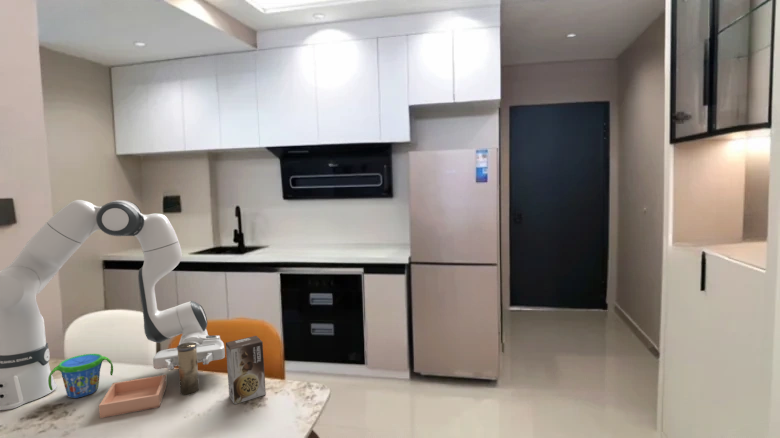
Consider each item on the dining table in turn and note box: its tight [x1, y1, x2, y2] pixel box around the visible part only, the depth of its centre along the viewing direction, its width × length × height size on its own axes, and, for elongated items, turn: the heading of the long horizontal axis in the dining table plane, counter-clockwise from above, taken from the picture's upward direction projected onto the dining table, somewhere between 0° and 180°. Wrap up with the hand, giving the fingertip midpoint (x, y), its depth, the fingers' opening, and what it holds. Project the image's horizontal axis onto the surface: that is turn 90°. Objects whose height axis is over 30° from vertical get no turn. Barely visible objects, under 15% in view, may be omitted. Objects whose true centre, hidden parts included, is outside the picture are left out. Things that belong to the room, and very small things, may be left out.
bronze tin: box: [176, 342, 200, 396], centre depth 124 cm, size 5×5×14 cm
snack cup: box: [48, 353, 114, 399], centre depth 124 cm, size 16×10×10 cm
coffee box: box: [225, 335, 267, 405], centre depth 120 cm, size 9×6×16 cm
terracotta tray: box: [98, 374, 168, 419], centre depth 119 cm, size 14×14×4 cm
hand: (188, 364), depth 124 cm, fingers open, 8 cm apart
